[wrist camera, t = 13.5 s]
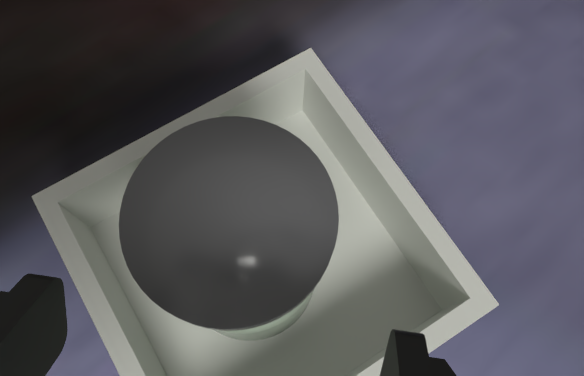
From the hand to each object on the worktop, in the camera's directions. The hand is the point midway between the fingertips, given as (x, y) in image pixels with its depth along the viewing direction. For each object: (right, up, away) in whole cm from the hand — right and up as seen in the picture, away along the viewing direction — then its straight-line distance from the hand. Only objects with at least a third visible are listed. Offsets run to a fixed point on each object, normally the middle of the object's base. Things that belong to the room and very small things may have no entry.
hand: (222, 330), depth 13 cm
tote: (0, -1, +13) cm, 13 cm away
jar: (0, -1, +12) cm, 12 cm away
